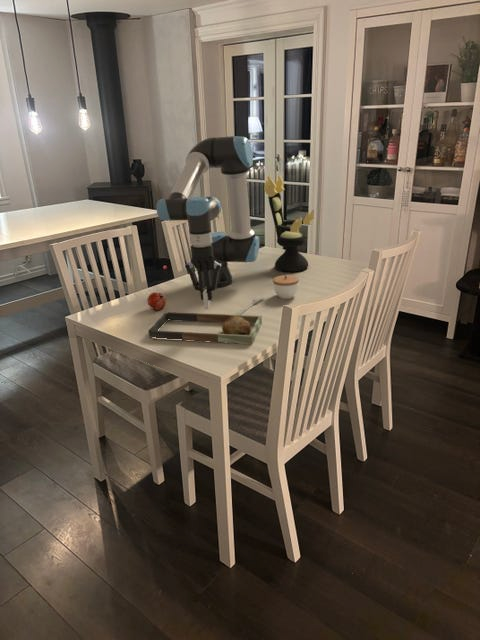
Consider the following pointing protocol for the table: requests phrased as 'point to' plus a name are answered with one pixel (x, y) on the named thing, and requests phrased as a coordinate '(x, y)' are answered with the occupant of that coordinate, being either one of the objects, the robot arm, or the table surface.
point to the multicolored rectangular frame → (205, 336)
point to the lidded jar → (285, 286)
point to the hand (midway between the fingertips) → (207, 308)
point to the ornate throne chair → (287, 230)
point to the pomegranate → (156, 301)
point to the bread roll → (236, 326)
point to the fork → (248, 306)
